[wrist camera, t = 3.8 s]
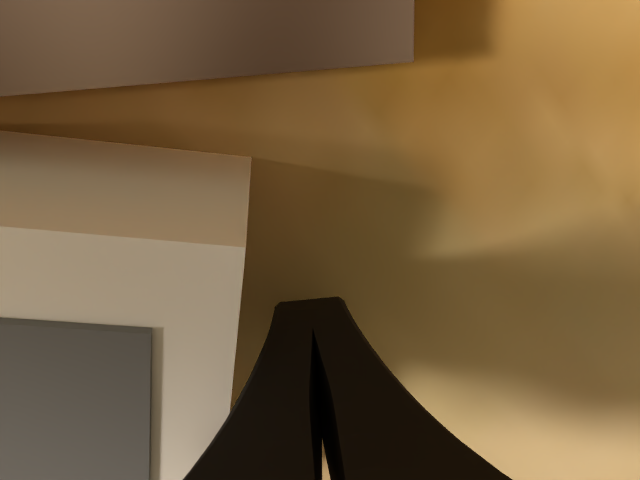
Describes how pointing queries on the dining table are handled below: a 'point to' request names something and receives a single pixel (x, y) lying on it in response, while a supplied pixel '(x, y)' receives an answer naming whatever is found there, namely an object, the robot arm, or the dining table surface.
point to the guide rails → (191, 40)
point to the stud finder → (116, 305)
